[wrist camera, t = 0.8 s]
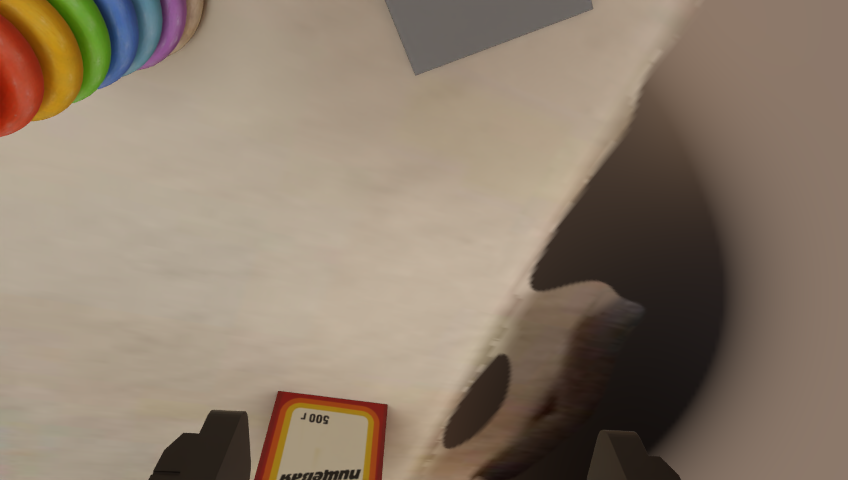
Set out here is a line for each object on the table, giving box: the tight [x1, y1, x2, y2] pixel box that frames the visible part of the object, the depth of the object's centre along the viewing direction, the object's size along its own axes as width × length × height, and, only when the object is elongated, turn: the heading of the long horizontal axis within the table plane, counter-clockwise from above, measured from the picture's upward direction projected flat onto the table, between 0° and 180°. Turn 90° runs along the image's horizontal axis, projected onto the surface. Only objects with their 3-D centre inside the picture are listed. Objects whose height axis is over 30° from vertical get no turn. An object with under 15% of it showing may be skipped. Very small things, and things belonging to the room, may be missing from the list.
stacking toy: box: [0, 0, 203, 137], centre depth 22 cm, size 8×8×19 cm
